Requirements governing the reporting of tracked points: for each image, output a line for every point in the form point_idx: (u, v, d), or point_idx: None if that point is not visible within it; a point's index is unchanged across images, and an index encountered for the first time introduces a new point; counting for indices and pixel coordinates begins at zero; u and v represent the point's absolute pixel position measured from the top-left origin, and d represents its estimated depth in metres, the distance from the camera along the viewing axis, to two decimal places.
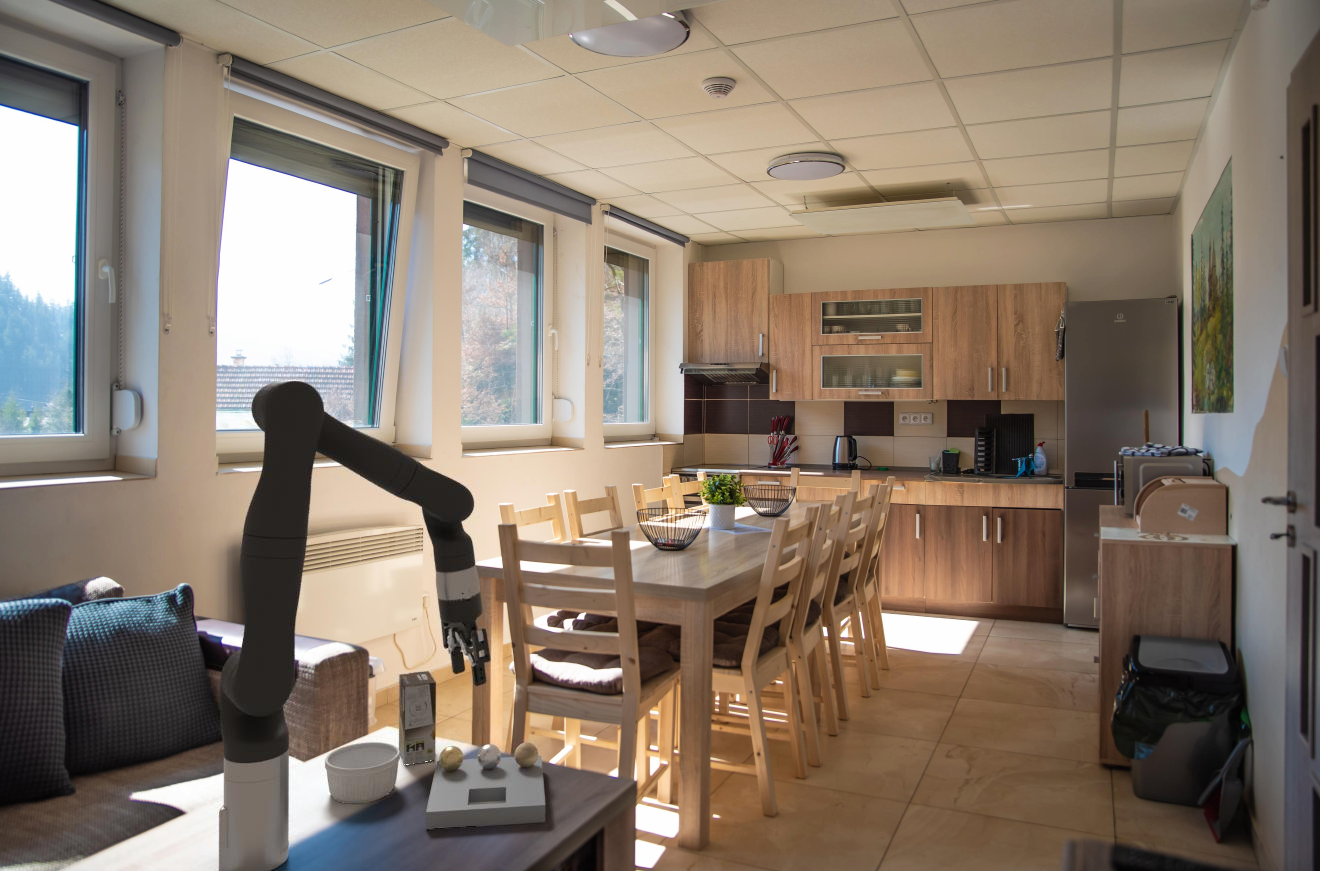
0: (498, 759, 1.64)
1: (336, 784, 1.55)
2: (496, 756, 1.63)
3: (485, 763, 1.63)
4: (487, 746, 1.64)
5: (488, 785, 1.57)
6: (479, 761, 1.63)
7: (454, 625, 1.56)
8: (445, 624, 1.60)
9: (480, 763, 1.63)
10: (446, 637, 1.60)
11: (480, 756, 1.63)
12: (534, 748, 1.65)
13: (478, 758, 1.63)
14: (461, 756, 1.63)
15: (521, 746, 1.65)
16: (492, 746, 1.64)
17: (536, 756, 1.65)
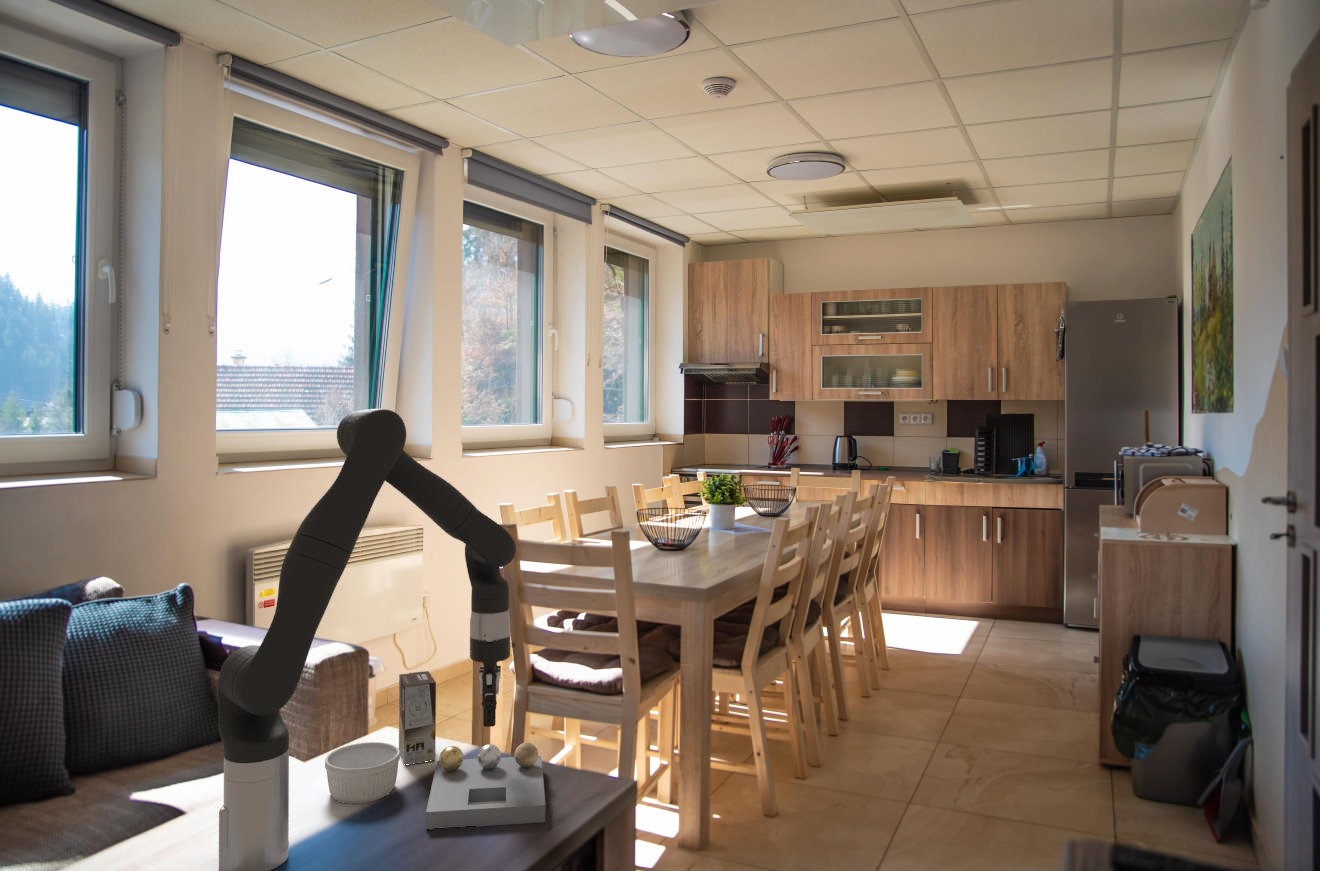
0: (498, 759, 1.64)
1: (336, 784, 1.55)
2: (496, 756, 1.63)
3: (485, 763, 1.63)
4: (487, 746, 1.64)
5: (488, 785, 1.57)
6: (479, 761, 1.63)
7: None
8: None
9: (480, 763, 1.63)
10: None
11: (480, 756, 1.63)
12: (534, 748, 1.65)
13: (478, 758, 1.63)
14: (461, 756, 1.63)
15: (521, 746, 1.65)
16: (492, 746, 1.64)
17: (536, 756, 1.65)
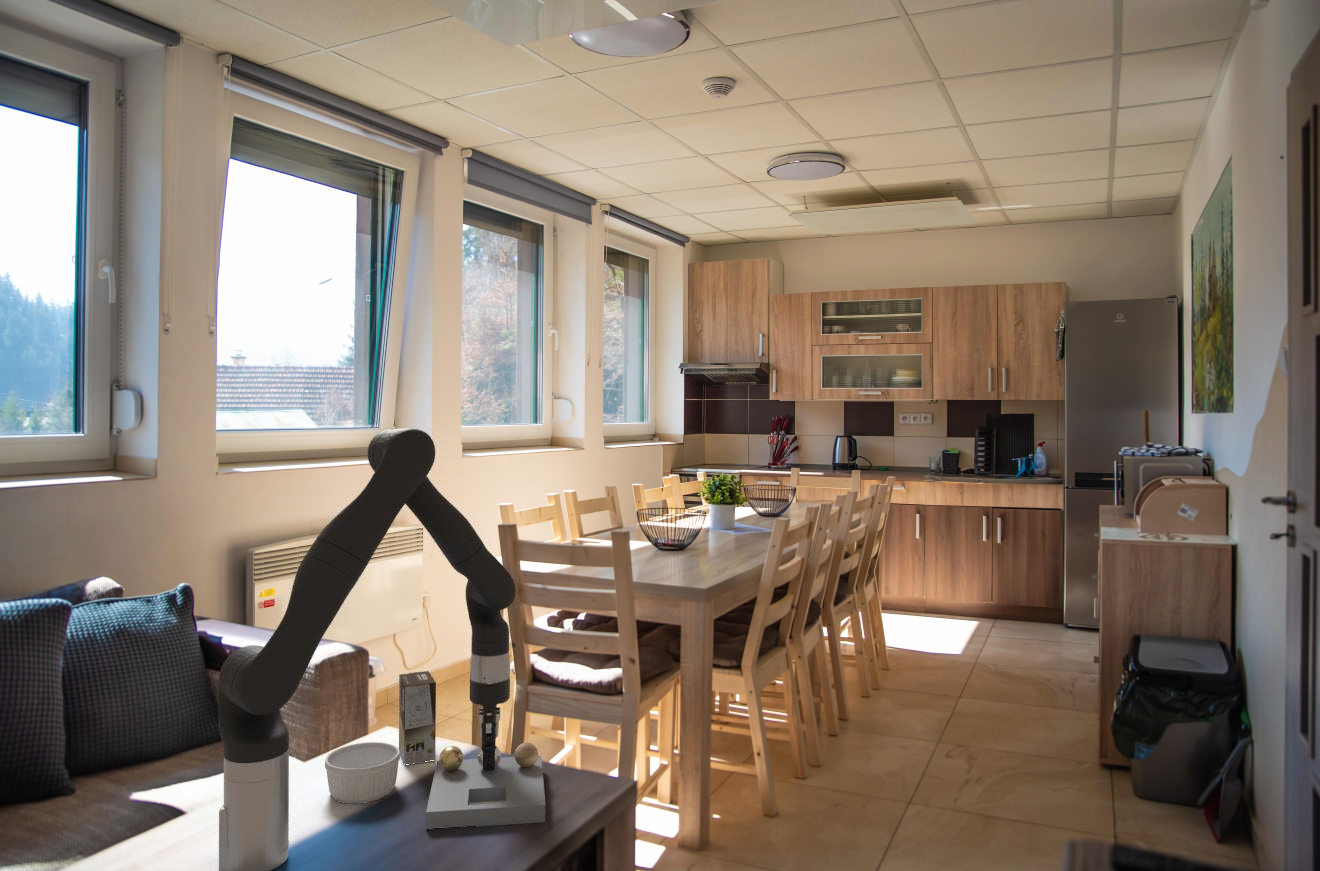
0: (498, 759, 1.64)
1: (336, 784, 1.55)
2: (496, 756, 1.63)
3: None
4: None
5: (488, 785, 1.57)
6: (479, 761, 1.63)
7: None
8: None
9: (480, 763, 1.63)
10: None
11: (480, 756, 1.63)
12: (534, 748, 1.65)
13: (478, 758, 1.63)
14: (461, 756, 1.63)
15: (521, 746, 1.65)
16: None
17: (536, 756, 1.65)
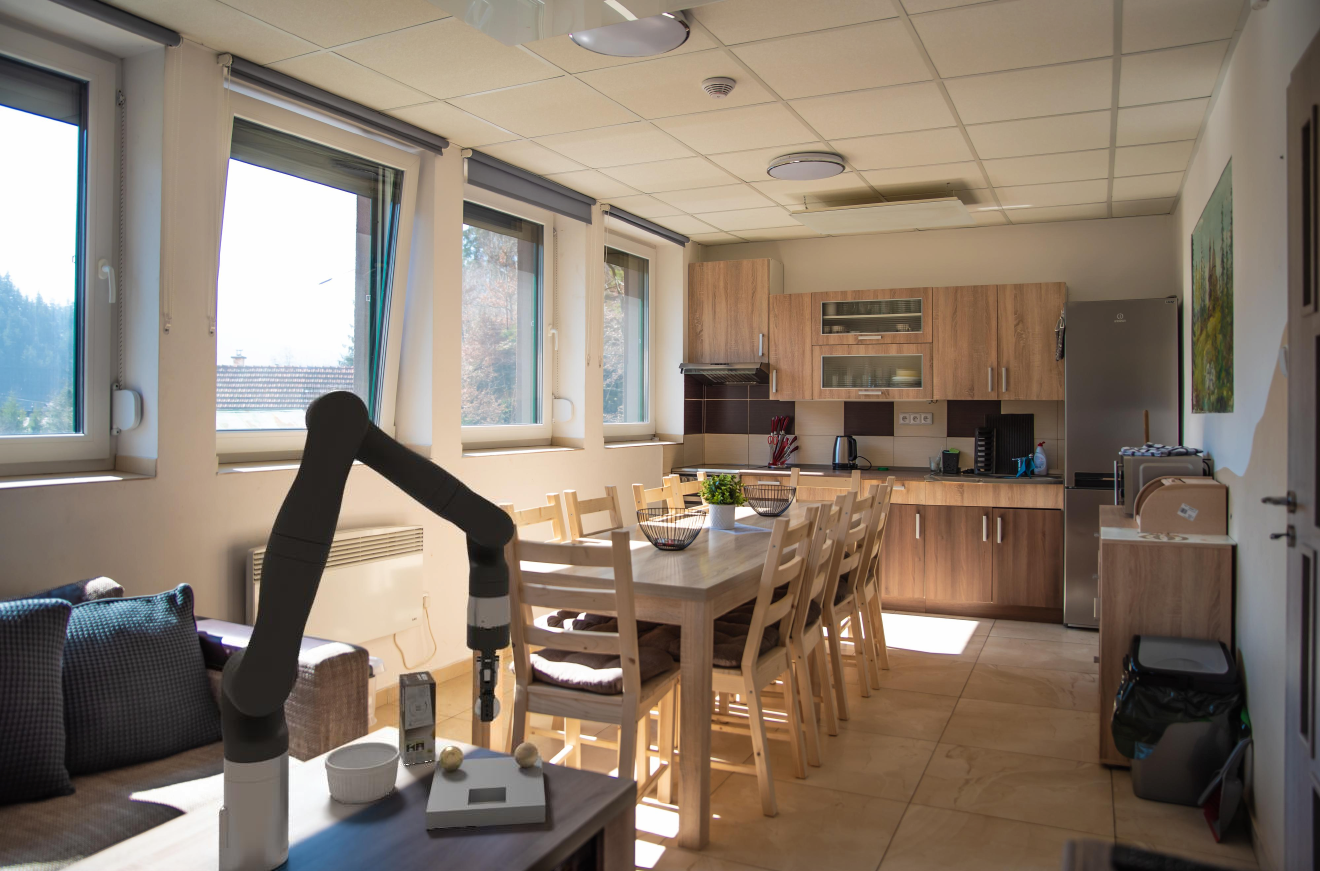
0: (497, 710, 1.52)
1: (336, 784, 1.55)
2: (495, 706, 1.51)
3: None
4: None
5: (488, 785, 1.57)
6: (477, 712, 1.51)
7: None
8: None
9: (478, 714, 1.51)
10: None
11: (478, 707, 1.51)
12: (534, 748, 1.65)
13: (476, 709, 1.51)
14: (461, 756, 1.63)
15: (521, 746, 1.65)
16: None
17: (536, 756, 1.65)
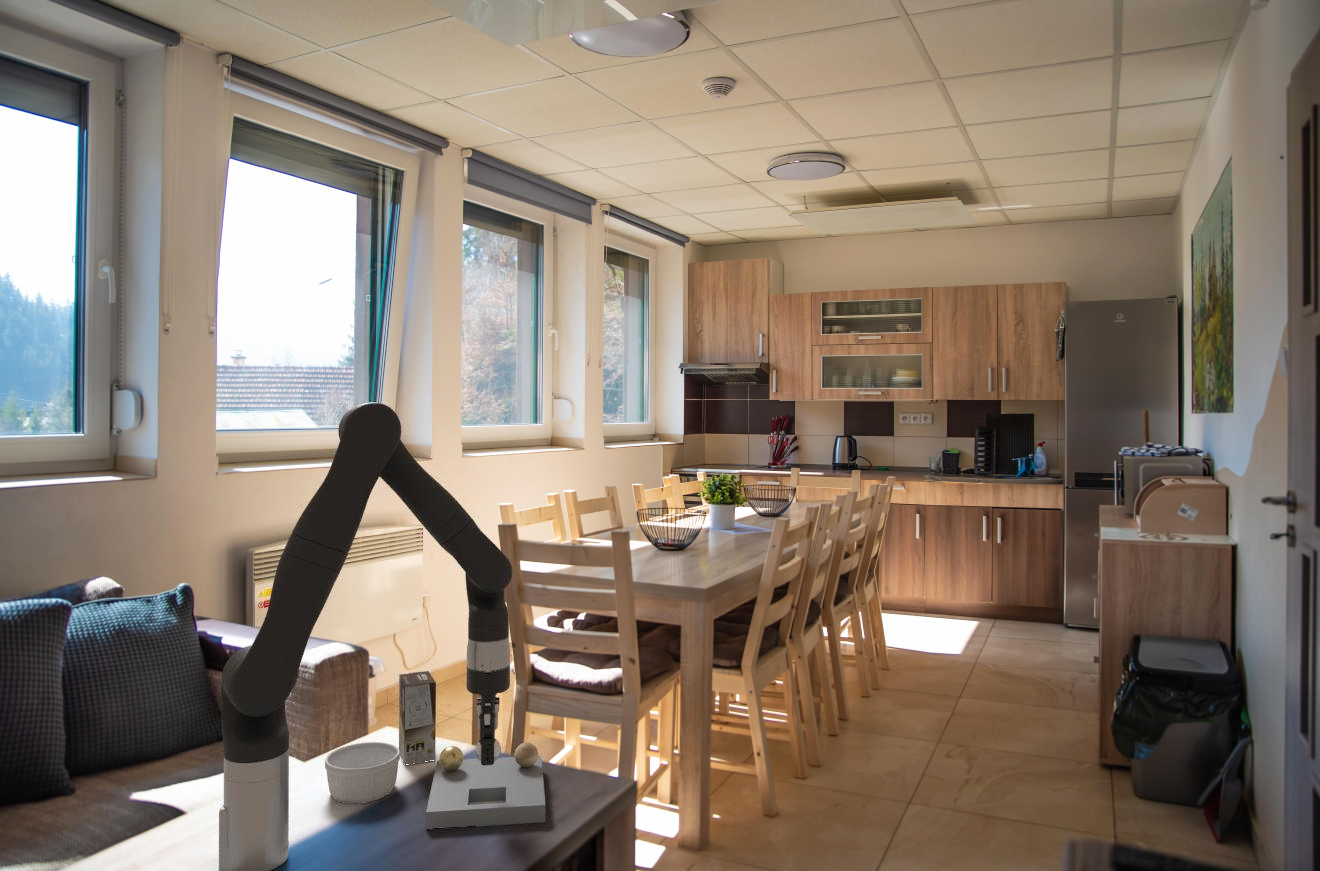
0: (498, 753, 1.52)
1: (336, 784, 1.55)
2: (495, 749, 1.51)
3: None
4: None
5: (488, 785, 1.57)
6: (477, 755, 1.51)
7: None
8: None
9: (478, 757, 1.51)
10: None
11: (478, 750, 1.51)
12: (534, 748, 1.65)
13: (476, 752, 1.52)
14: (461, 756, 1.63)
15: (521, 746, 1.65)
16: None
17: (536, 756, 1.65)
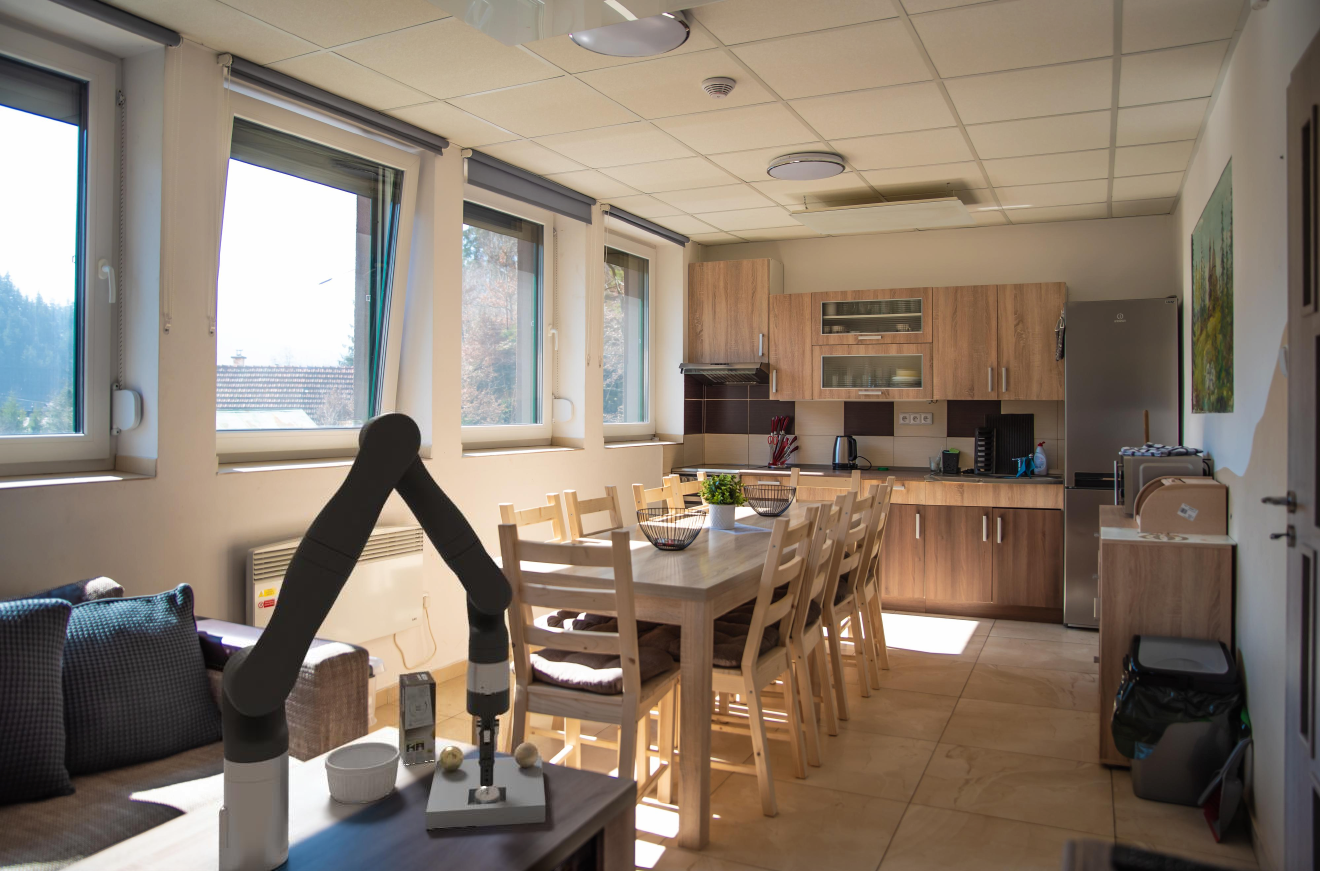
0: (497, 800, 1.52)
1: (336, 784, 1.55)
2: (495, 796, 1.52)
3: None
4: None
5: None
6: (476, 802, 1.51)
7: None
8: None
9: None
10: None
11: (478, 797, 1.51)
12: (534, 748, 1.65)
13: (475, 799, 1.52)
14: (461, 756, 1.63)
15: (521, 746, 1.65)
16: (490, 786, 1.53)
17: (536, 756, 1.65)
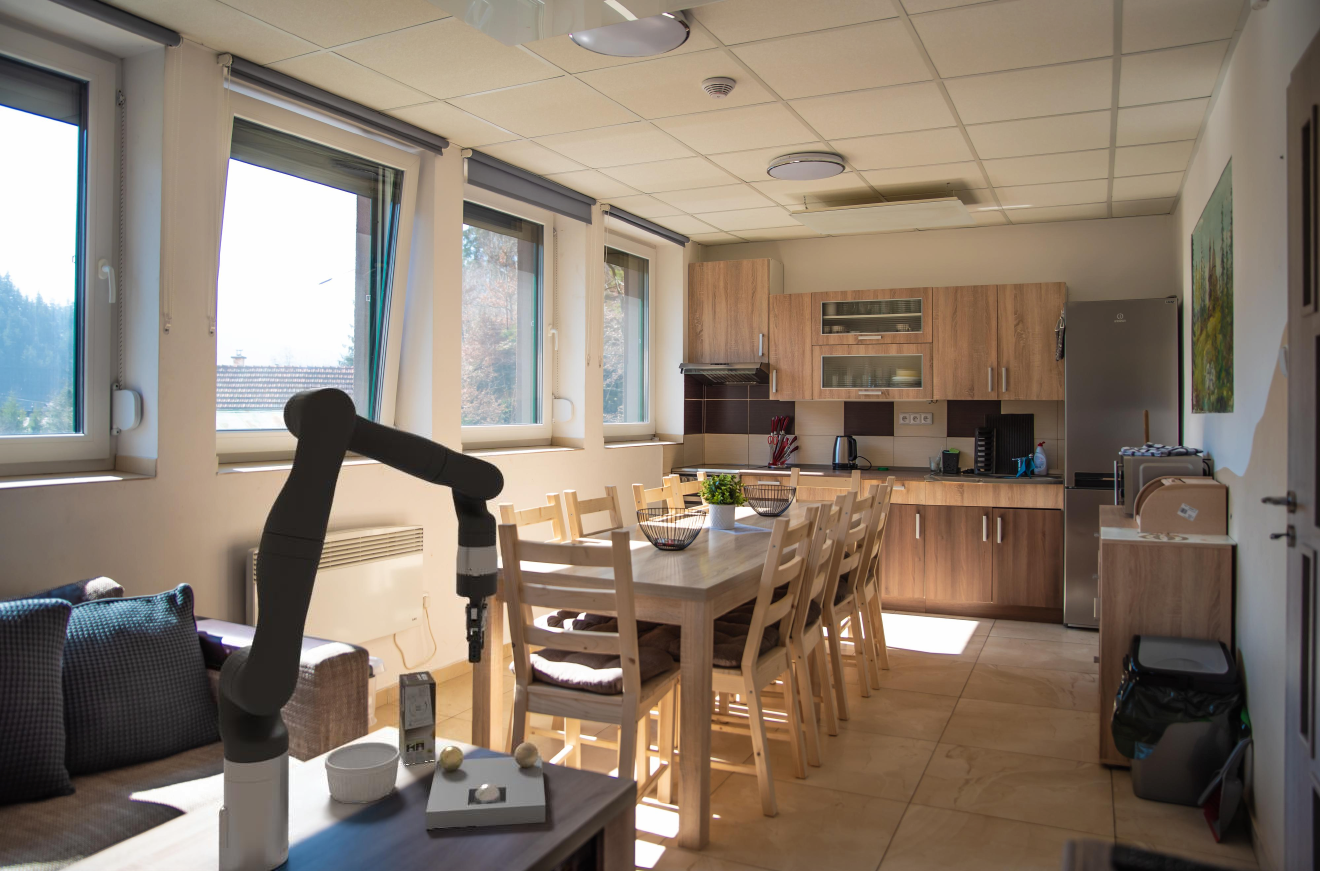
0: (497, 800, 1.52)
1: (336, 784, 1.55)
2: (495, 797, 1.51)
3: None
4: (486, 786, 1.52)
5: None
6: (476, 802, 1.51)
7: None
8: None
9: None
10: None
11: (478, 797, 1.51)
12: (534, 748, 1.65)
13: (475, 799, 1.52)
14: (461, 756, 1.63)
15: (521, 746, 1.65)
16: (491, 786, 1.53)
17: (536, 756, 1.65)
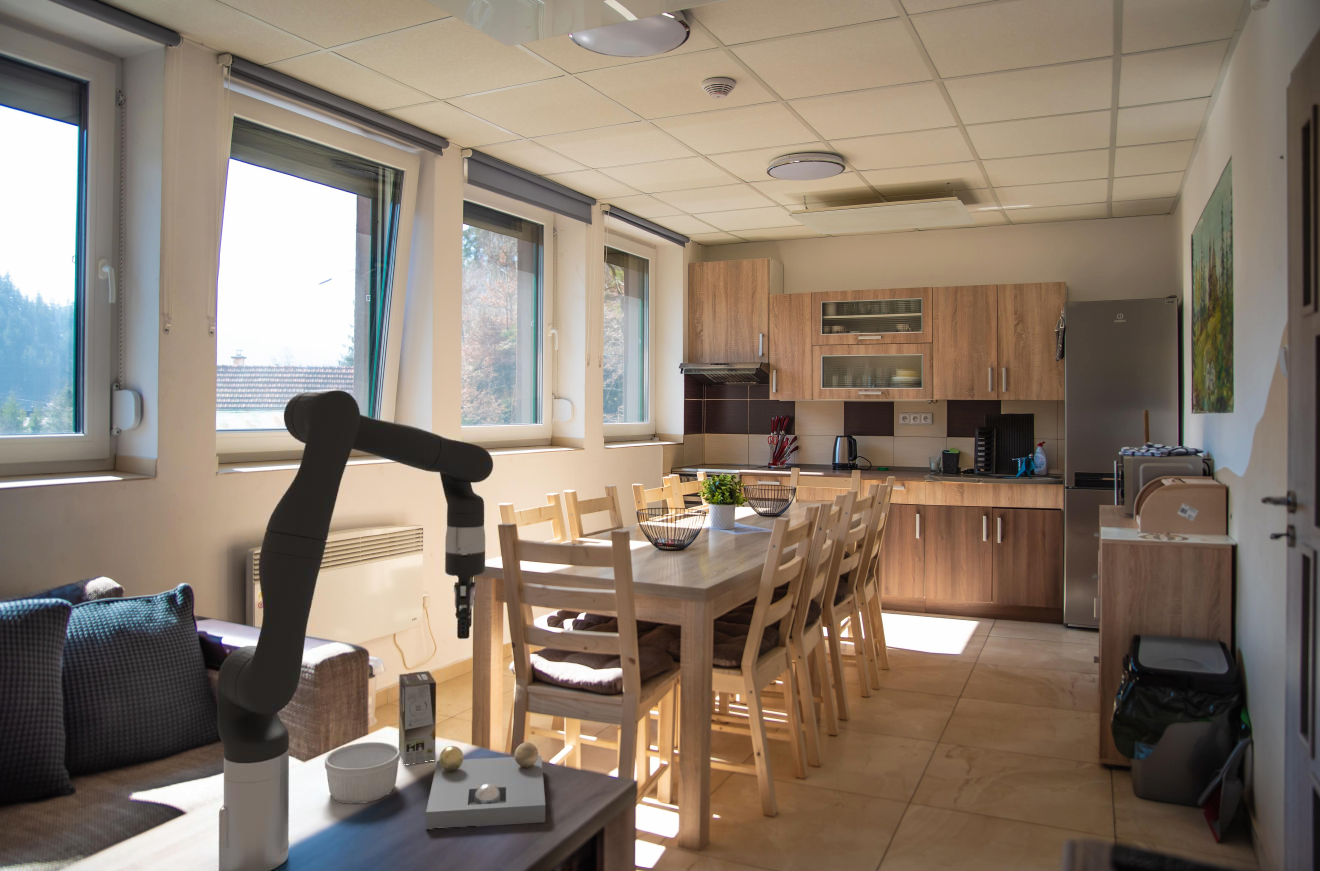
0: (497, 800, 1.52)
1: (336, 784, 1.55)
2: (495, 797, 1.51)
3: None
4: (486, 786, 1.52)
5: None
6: (476, 802, 1.51)
7: None
8: None
9: None
10: None
11: (478, 797, 1.51)
12: (534, 748, 1.65)
13: (475, 799, 1.52)
14: (461, 756, 1.63)
15: (521, 746, 1.65)
16: (491, 786, 1.52)
17: (536, 756, 1.65)
